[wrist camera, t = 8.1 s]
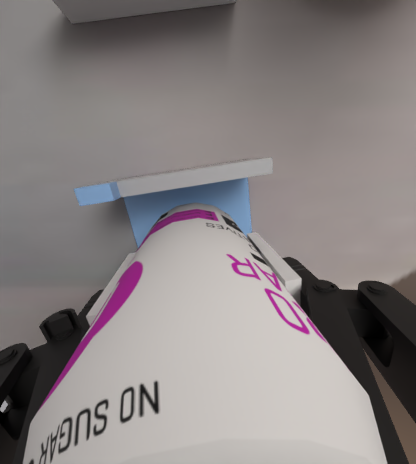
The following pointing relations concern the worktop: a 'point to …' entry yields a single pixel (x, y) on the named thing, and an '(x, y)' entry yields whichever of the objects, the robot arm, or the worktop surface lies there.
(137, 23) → the worktop surface
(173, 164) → the worktop surface
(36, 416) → the supplement can
